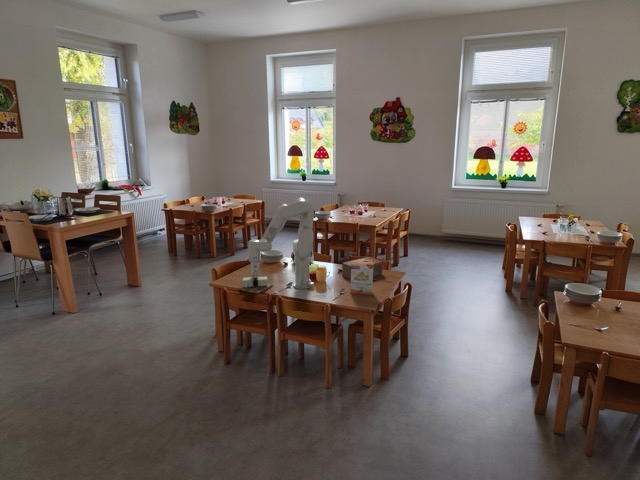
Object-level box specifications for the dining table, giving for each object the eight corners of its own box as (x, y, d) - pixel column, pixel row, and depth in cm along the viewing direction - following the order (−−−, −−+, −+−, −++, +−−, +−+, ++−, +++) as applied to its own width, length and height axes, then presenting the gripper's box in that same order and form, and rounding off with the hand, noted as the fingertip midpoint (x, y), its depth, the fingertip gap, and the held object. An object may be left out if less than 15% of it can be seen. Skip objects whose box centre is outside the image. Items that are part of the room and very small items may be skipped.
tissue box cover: (369, 269, 323) (369, 256, 320) (381, 274, 311) (382, 261, 308) (342, 275, 308) (342, 262, 306) (354, 281, 297) (355, 268, 294)
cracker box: (350, 294, 273) (350, 263, 268) (351, 290, 279) (351, 260, 274) (372, 295, 271) (373, 264, 266) (372, 292, 277) (373, 261, 272)
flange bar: (267, 282, 286) (266, 276, 285) (267, 285, 281) (267, 279, 280) (243, 283, 284) (242, 277, 282) (243, 286, 278) (242, 280, 277)
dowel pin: (247, 288, 279) (247, 284, 278) (246, 289, 278) (246, 284, 277) (246, 288, 279) (246, 283, 278) (245, 288, 278) (244, 284, 277)
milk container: (296, 259, 346) (296, 237, 342) (316, 261, 341) (316, 239, 337) (288, 265, 331) (288, 243, 326) (309, 267, 325) (309, 245, 321)
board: (272, 286, 286) (272, 278, 285) (258, 294, 272) (257, 286, 271) (253, 282, 294) (253, 274, 292) (238, 289, 280) (238, 281, 279)
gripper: (260, 262, 270) (261, 288, 275) (259, 254, 287) (260, 279, 291) (249, 262, 269) (249, 289, 273) (248, 254, 285) (249, 280, 290)
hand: (255, 284), depth 282 cm, fingers closed on flange bar, 5 cm apart
